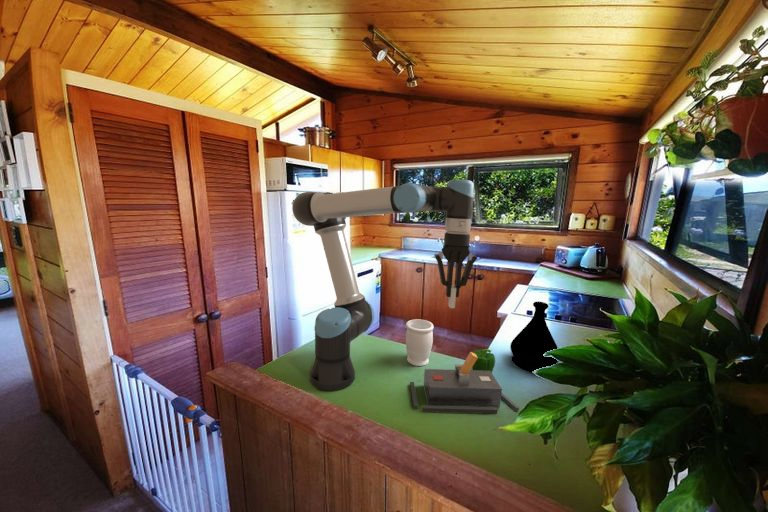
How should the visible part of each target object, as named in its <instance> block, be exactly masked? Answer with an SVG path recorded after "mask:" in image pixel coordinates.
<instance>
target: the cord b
mask: <svg viewBox="0 0 768 512" xmlns="http://www.w3.org/2000/svg"><path fill="white" fill-rule="evenodd" d="M409 387H410V392H411V393H410V394H411V398H412V399H411V401H412V406H413V410H419V404H418V398H417V393H416V392H417V391H416V387H415V382H414V381H409Z"/></svg>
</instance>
